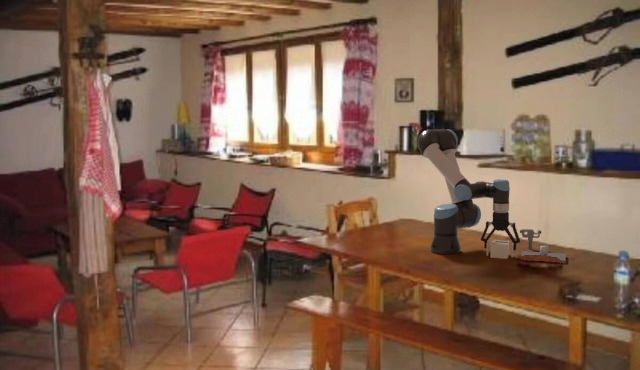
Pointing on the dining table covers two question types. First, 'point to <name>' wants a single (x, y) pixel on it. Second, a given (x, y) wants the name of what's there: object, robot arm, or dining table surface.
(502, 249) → the cream slotted box
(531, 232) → the mechanical component
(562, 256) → the board
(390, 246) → the dining table surface
